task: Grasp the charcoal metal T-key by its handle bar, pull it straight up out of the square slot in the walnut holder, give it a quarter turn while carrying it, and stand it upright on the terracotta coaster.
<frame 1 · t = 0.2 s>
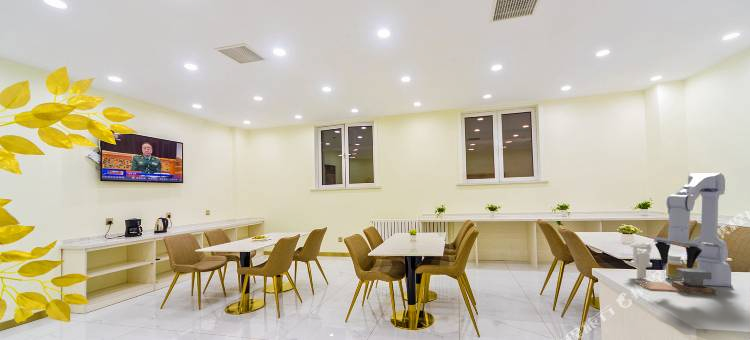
hand: (676, 265, 127), 10 cm above the counter, tool pointing down, fingers open, 7 cm apart
terracotta coaster: (656, 286, 136), on the counter
walnut holder: (693, 290, 132), on the counter
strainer: (641, 278, 148), on the counter
supplement bottle: (674, 279, 148), on the counter
t key: (693, 280, 132), in the walnut holder
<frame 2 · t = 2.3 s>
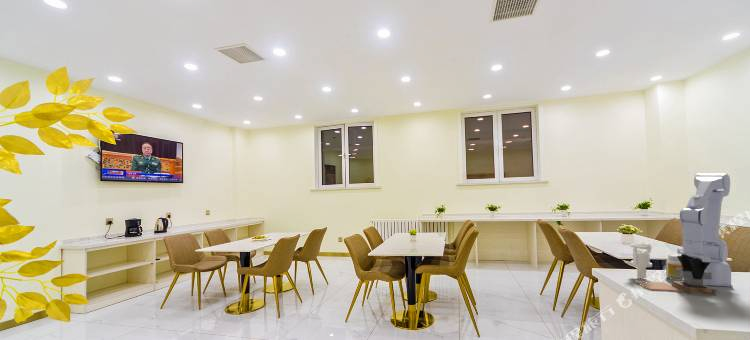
hand: (693, 277, 133), 5 cm above the counter, tool pointing down, fingers closed on t key, 4 cm apart
t key: (693, 280, 133), in the walnut holder, touching gripper
everything else where it was.
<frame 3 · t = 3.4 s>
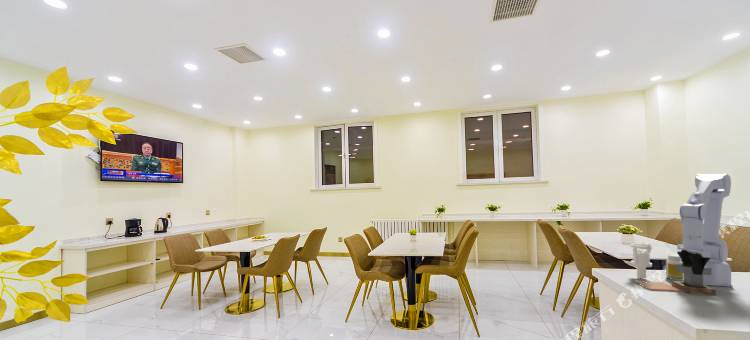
hand: (693, 272, 133), 7 cm above the counter, tool pointing down, fingers closed on t key, 4 cm apart
t key: (693, 275, 133), point 5 cm above the counter, touching gripper
everything else where it was.
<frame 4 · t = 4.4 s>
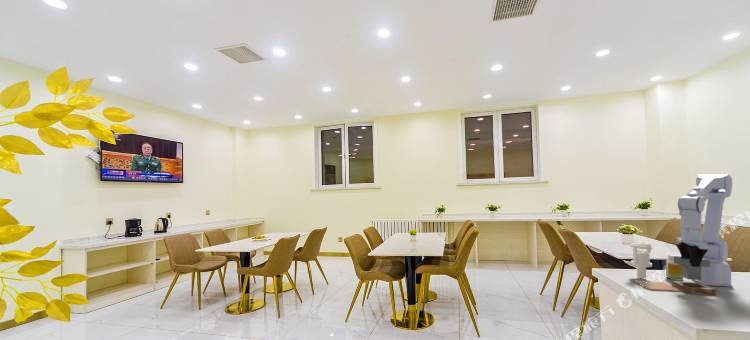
hand: (691, 264, 133), 9 cm above the counter, tool pointing down, fingers closed on t key, 4 cm apart
t key: (691, 268, 133), point 8 cm above the counter, touching gripper
everything else where it was.
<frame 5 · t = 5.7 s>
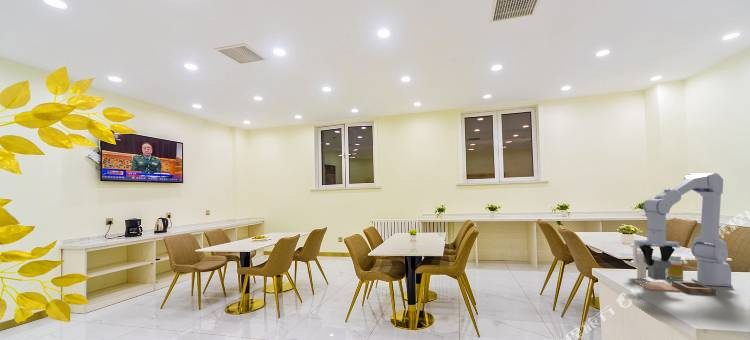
hand: (656, 265, 137), 8 cm above the counter, tool pointing down, fingers closed on t key, 4 cm apart
t key: (656, 268, 136), point 7 cm above the counter, touching gripper
everything else where it was.
when the fingers open (6 cm above the counter, at t = 6.9 s): t key stays where it is, resting on terracotta coaster.
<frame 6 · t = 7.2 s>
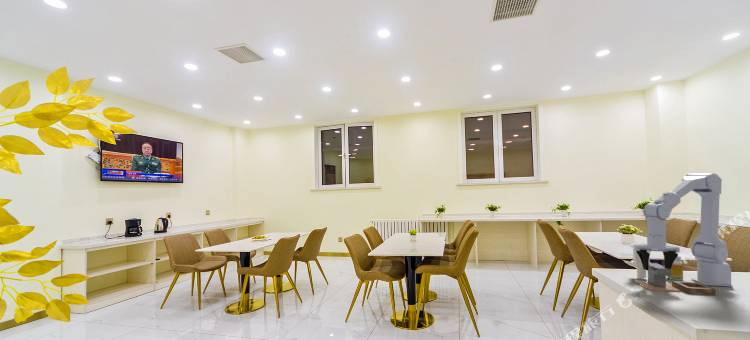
hand: (656, 270, 137), 6 cm above the counter, tool pointing down, fingers open, 7 cm apart
t key: (656, 275, 136), on the terracotta coaster, point 4 cm above the counter
everything else where it was.
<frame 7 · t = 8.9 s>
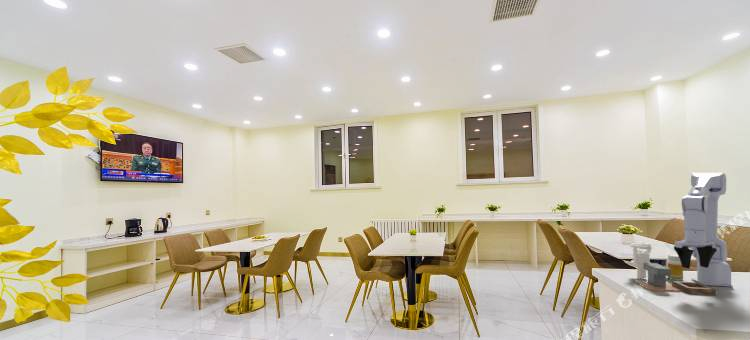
hand: (695, 267, 127), 10 cm above the counter, tool pointing down, fingers open, 7 cm apart
nothing on the counter moved.
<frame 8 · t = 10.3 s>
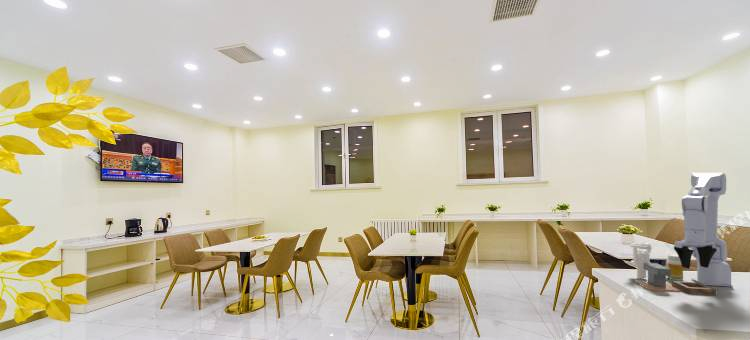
hand: (695, 267, 127), 10 cm above the counter, tool pointing down, fingers open, 7 cm apart
nothing on the counter moved.
at the end: t key 0.0 cm off-centre on the terracotta coaster, point 4.3 cm above the terracotta coaster's base; t key tilted 0°; the gripper is holding nothing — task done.
